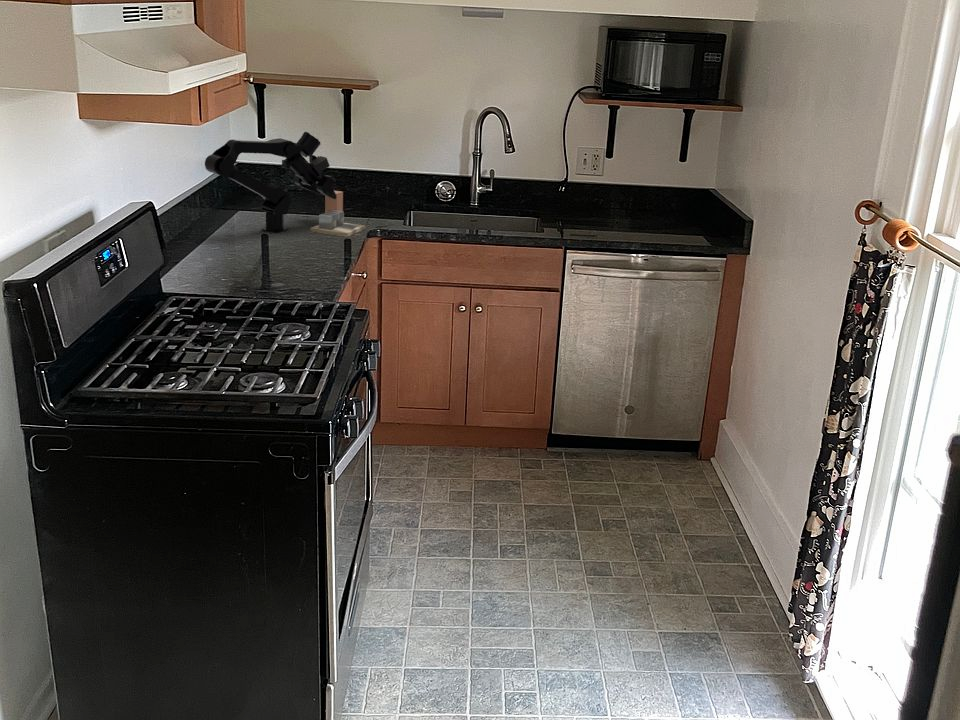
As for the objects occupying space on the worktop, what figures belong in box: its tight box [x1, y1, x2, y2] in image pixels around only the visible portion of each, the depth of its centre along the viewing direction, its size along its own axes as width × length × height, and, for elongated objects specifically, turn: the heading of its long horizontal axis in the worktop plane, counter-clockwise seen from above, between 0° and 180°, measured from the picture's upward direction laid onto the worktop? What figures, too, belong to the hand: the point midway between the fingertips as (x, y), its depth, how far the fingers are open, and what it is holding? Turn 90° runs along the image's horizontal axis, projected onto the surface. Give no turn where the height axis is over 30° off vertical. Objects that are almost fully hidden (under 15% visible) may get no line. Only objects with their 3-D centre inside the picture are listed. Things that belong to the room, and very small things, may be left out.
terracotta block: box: [324, 190, 344, 213], centre depth 333 cm, size 5×5×11 cm
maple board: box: [310, 210, 366, 238], centre depth 323 cm, size 14×14×6 cm
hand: (328, 196), depth 330 cm, fingers open, 9 cm apart
